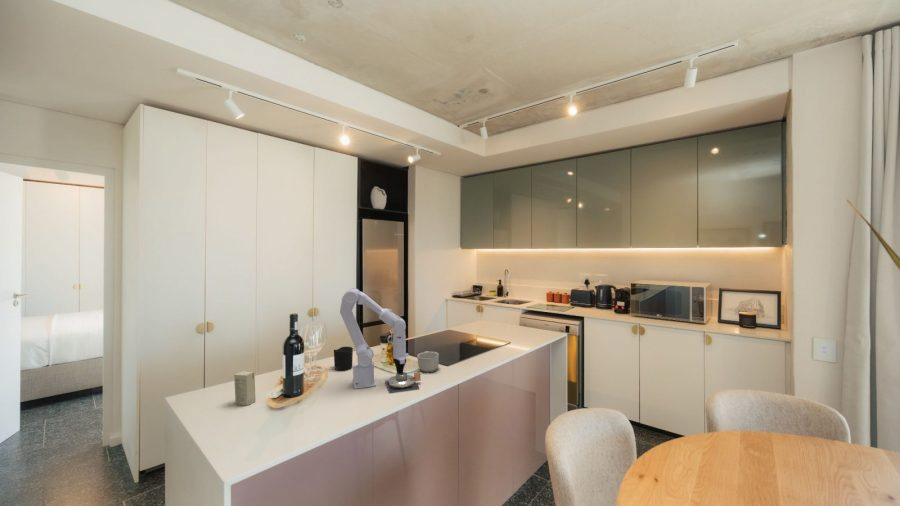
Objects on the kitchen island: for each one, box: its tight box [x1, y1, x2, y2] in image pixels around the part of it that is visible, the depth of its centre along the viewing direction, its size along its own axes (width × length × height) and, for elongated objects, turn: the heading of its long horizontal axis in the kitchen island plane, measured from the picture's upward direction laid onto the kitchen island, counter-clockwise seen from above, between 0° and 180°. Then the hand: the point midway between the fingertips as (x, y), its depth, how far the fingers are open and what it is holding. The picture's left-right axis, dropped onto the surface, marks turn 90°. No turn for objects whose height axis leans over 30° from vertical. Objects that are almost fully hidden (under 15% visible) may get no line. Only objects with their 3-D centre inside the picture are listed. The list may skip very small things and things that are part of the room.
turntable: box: [387, 371, 422, 388], centre depth 160 cm, size 15×12×3 cm
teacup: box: [416, 350, 440, 373], centre depth 181 cm, size 14×11×8 cm
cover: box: [395, 371, 408, 382], centre depth 159 cm, size 5×5×3 cm
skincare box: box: [233, 370, 257, 406], centre depth 143 cm, size 6×4×12 cm
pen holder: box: [333, 346, 354, 372], centre depth 183 cm, size 9×9×10 cm
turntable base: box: [384, 379, 420, 394], centre depth 160 cm, size 13×13×1 cm
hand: (399, 374), depth 164 cm, fingers closed
